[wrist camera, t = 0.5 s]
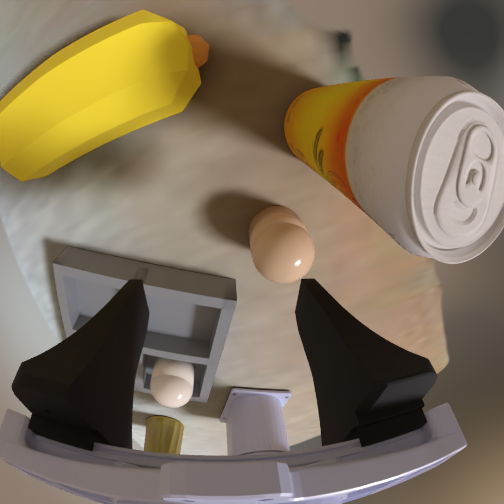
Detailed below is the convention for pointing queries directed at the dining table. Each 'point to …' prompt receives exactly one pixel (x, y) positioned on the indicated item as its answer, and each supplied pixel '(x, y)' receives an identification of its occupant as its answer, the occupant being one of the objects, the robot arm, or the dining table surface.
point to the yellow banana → (98, 92)
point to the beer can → (410, 158)
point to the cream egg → (172, 382)
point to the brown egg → (280, 245)
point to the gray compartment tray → (153, 310)
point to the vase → (163, 435)
